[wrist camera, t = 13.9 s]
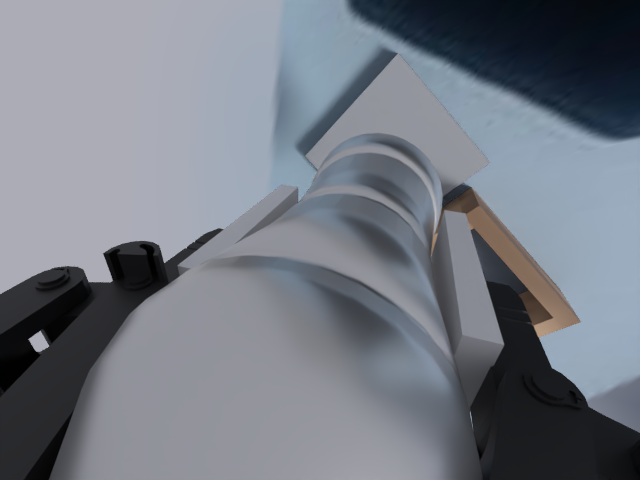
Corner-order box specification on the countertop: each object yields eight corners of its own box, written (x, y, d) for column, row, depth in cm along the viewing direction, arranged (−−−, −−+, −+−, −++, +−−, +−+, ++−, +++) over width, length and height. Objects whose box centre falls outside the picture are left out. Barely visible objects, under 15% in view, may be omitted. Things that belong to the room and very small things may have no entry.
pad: (385, 234, 28) (383, 238, 27) (308, 153, 26) (304, 156, 25) (487, 159, 22) (490, 162, 22) (399, 54, 21) (398, 53, 20)
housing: (363, 373, 37) (357, 407, 33) (295, 309, 36) (280, 337, 32) (559, 289, 25) (583, 326, 22) (471, 187, 24) (480, 208, 20)
